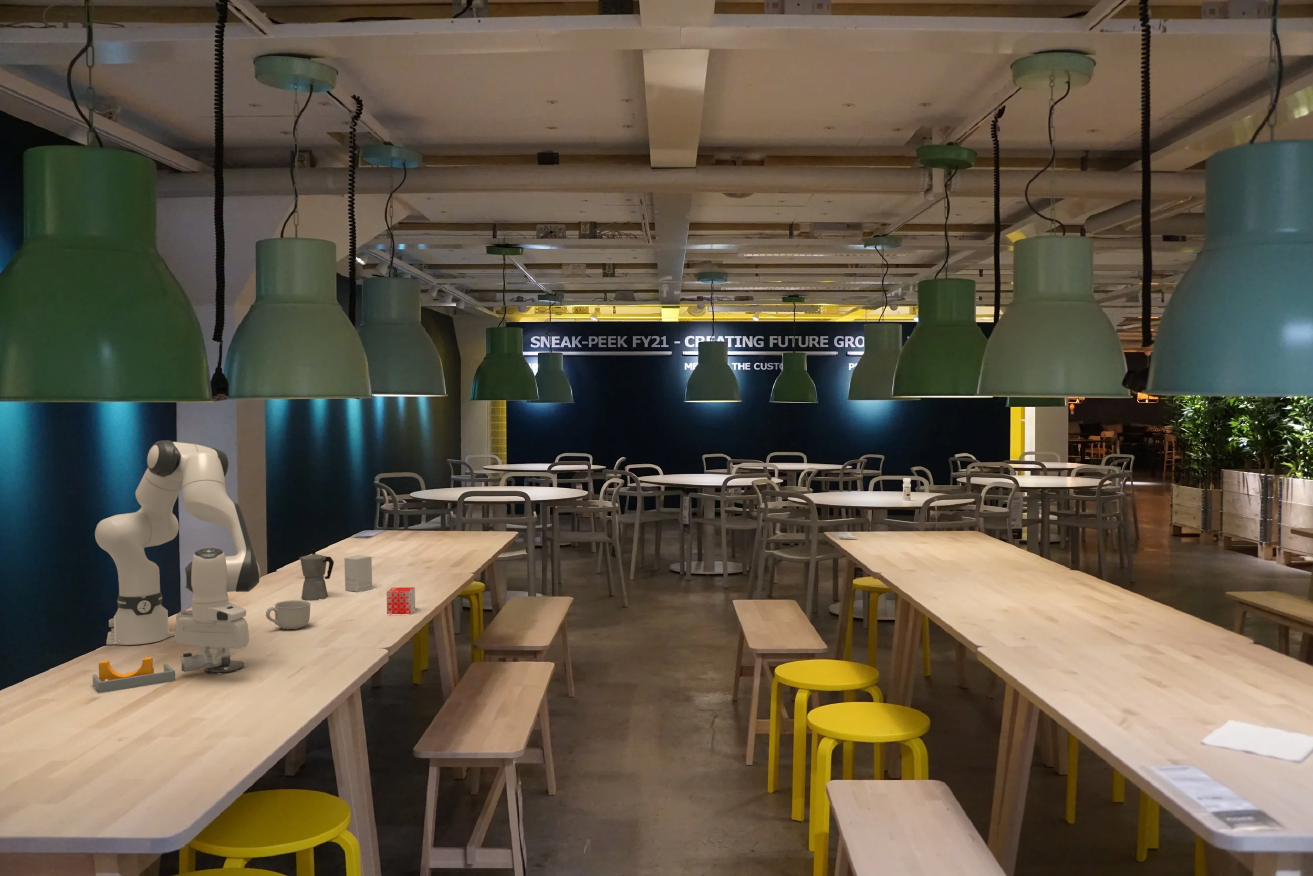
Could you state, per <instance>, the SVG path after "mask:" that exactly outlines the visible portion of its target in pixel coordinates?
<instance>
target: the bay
mask: <svg viewBox="0 0 1313 876" xmlns="http://www.w3.org/2000/svg"><path fill="white" fill-rule="evenodd" d="M174 681H176V670H175V669H173V668H172V667H171V666H170V664H168V663H163V671H160V672H154V673H153V674H147V675H140V676H134V677H128V678H121V679H115V680H105V681H101V680H100V679H99V675H97V674H92V685H93V684H94V685H93V686H95V687H96V688H95V687H94V688H95V689H96V691H97V690H98V691H99V692H101V693H106V692H105V691H108V692H112V691H113V692H114V691H118V690H125V689H130V688H137V687H138V688H139V687H143V686H150V685H156V684H162V683H168V682H174ZM98 691H97V692H98ZM99 692H98V693H99Z"/></svg>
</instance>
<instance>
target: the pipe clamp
mask: <svg viewBox="0 0 1313 876" xmlns="http://www.w3.org/2000/svg"><path fill="white" fill-rule="evenodd" d="M153 664H154V663H153V656H147V657H143V658H142V661H141V664H140V665H141V666H140V668H137V669H136V670H134V671H129V672H126V673H125V674H124V673H119V672H117V671H116V670H114V669H113V667H112V666H111V663H110V660H109V659H108V660H100V661H99V662H98V677H99V679H100V680H101V681H108V680H115V679H121V678H128V677H134V676H140V675H147V674H153V673H155V667H153V666H154V665H153Z"/></svg>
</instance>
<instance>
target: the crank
mask: <svg viewBox="0 0 1313 876" xmlns="http://www.w3.org/2000/svg"><path fill="white" fill-rule="evenodd" d="M209 651H210V653H211V655H212V656H213V655H214V653H215V651H213V649H212V650H209ZM180 659H181V660H180V661H181V665H180V666H181V672H184V673H187V672H192V671H196V670H203V669H204V668H208V667H213V666H218V665H219V666H226V665H230V660H231V648H223V650H222V652H221V654H220V656H219V663H217V664H206V663H205V657H204V655H203V654H202V652H201V651H200V652H198V653H192V652H184V653H182V656H181V657H180Z"/></svg>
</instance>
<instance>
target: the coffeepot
mask: <svg viewBox="0 0 1313 876" xmlns="http://www.w3.org/2000/svg"><path fill="white" fill-rule="evenodd" d="M316 552H317V549H315V548H312V549H311V554H308V555H303V556H299V557H298V559H299V561H300V565H301V571H302V576H303V577H304V581H303V585H302V592H301V598H300V599H301V600H302V601H320V600H319V599H322V600H325V599H327V598H328V597H329V595H328V589H327V585H326V580H329V579H331V575H332V572H333V568H334V563H335V561H334V559H333V558H332V557H331V556H327V555H321V554H317V553H316ZM327 562H328V568H327ZM326 569H327V572H326ZM326 574H327V575H326ZM325 575H326V576H325Z"/></svg>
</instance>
